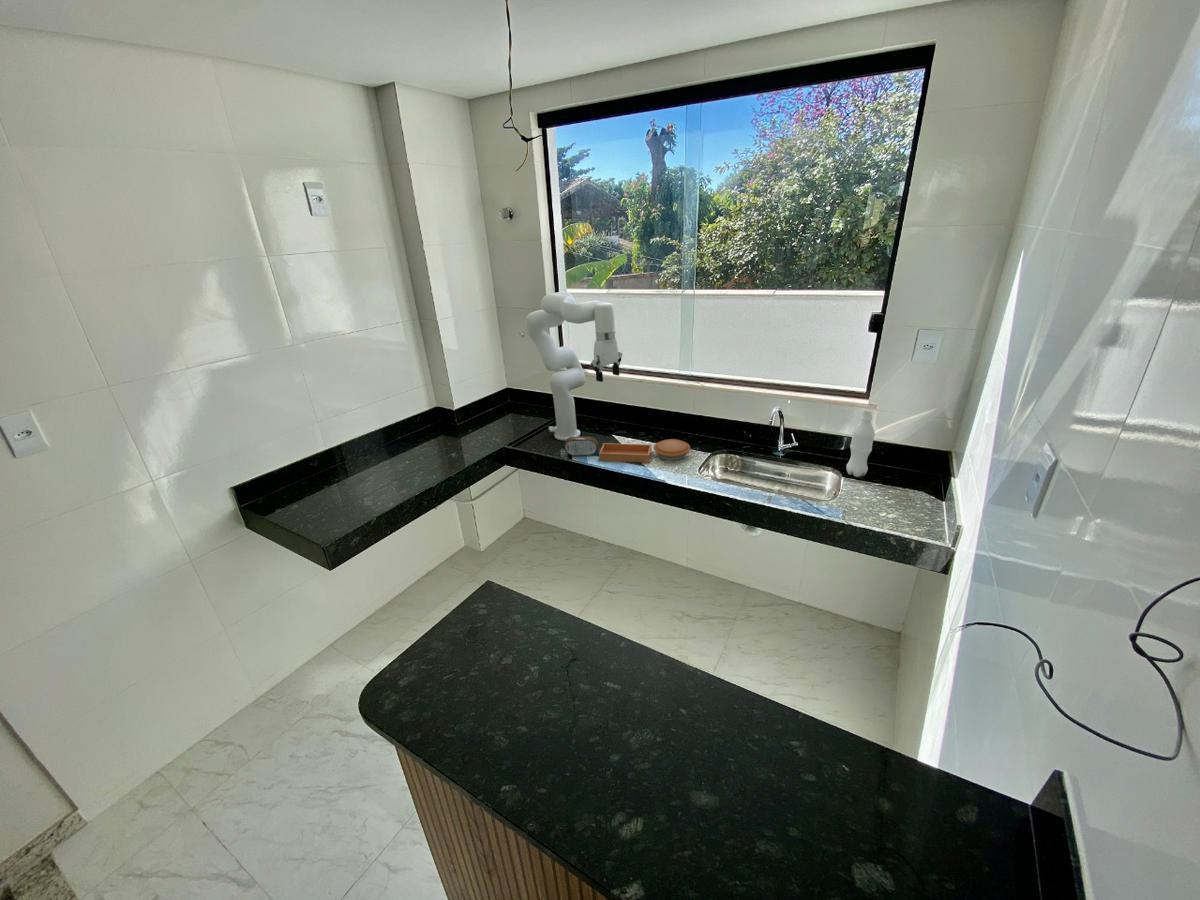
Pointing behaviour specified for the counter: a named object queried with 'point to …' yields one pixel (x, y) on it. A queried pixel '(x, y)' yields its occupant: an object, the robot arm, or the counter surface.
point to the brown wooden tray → (625, 452)
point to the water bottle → (861, 446)
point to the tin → (581, 446)
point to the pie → (672, 449)
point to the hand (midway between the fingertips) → (608, 378)
